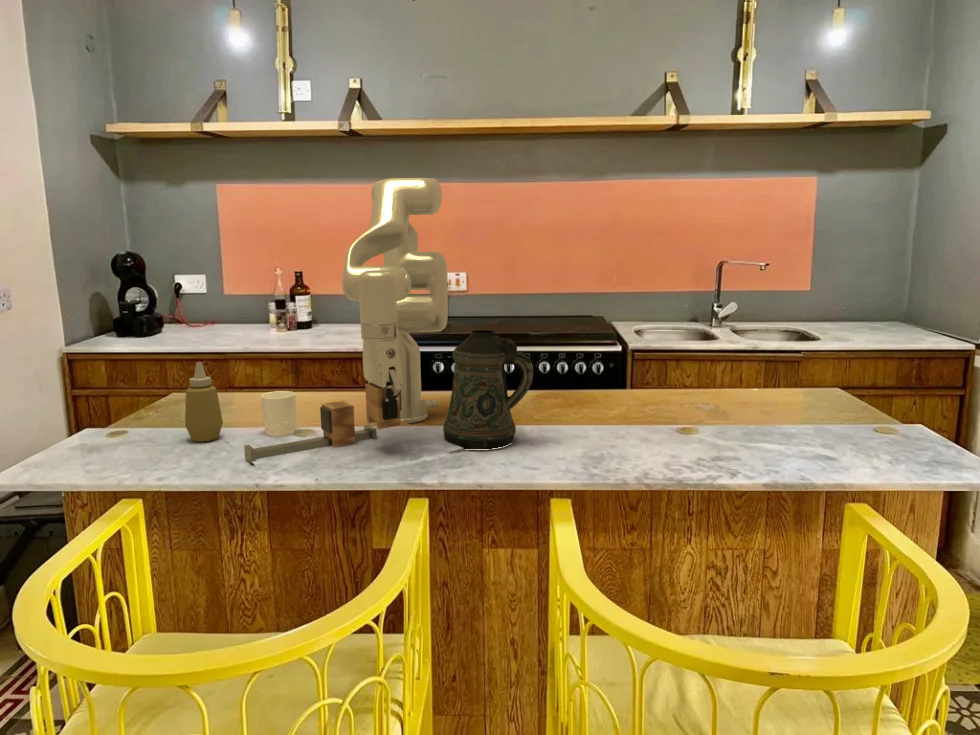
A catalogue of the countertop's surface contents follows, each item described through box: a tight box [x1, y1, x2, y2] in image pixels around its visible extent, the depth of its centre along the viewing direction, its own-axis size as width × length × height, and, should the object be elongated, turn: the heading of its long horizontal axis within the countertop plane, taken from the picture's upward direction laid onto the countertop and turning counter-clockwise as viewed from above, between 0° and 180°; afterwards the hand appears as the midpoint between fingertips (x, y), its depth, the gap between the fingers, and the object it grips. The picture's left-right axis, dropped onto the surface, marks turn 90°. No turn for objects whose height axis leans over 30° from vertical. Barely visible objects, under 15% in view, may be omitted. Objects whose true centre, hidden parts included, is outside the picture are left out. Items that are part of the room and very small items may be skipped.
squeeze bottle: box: [184, 361, 224, 443], centre depth 163 cm, size 8×8×18 cm
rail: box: [243, 424, 378, 467], centre depth 155 cm, size 28×4×3 cm, turn 124°
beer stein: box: [442, 329, 534, 449], centre depth 160 cm, size 16×19×25 cm
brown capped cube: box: [364, 383, 402, 430], centre depth 150 cm, size 6×6×8 cm
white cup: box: [259, 390, 297, 437], centre depth 166 cm, size 8×8×10 cm
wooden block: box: [319, 400, 356, 448], centre depth 157 cm, size 6×6×8 cm
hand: (383, 414), depth 151 cm, fingers closed on brown capped cube, 5 cm apart
